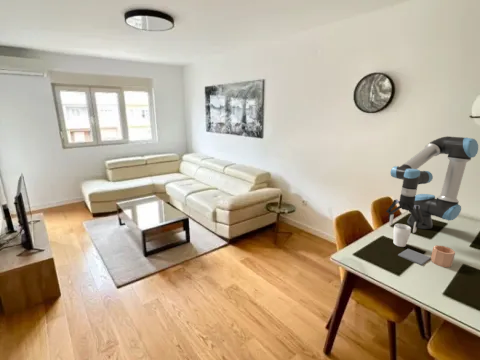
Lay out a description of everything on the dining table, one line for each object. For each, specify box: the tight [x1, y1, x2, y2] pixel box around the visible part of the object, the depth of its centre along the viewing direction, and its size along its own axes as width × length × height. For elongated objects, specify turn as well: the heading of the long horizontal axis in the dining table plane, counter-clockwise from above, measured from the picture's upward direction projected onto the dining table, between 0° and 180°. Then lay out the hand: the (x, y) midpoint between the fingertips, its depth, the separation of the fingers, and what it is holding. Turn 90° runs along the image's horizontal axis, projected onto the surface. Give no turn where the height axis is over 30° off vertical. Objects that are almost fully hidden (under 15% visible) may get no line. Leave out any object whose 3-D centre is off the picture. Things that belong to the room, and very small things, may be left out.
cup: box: [392, 223, 412, 248], centre depth 161 cm, size 9×9×12 cm
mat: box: [397, 248, 431, 266], centre depth 148 cm, size 12×12×1 cm
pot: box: [430, 244, 456, 268], centre depth 142 cm, size 9×9×8 cm
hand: (401, 227), depth 160 cm, fingers open, 13 cm apart
